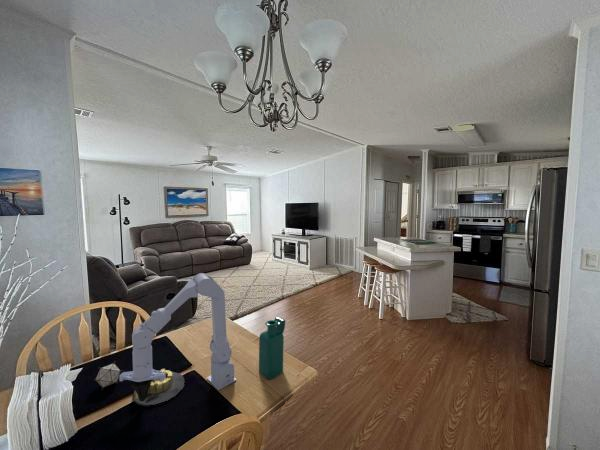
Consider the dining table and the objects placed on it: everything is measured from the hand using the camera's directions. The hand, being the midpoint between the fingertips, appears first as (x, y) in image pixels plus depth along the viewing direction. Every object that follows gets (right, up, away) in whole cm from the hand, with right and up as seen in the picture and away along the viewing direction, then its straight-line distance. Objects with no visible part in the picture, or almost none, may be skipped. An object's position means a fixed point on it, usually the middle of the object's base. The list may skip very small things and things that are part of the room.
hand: (143, 399), depth 90 cm
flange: (+1, -2, +8) cm, 9 cm away
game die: (-19, -1, +10) cm, 22 cm away
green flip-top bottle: (+43, -2, +20) cm, 47 cm away
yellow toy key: (0, -1, +7) cm, 7 cm away
